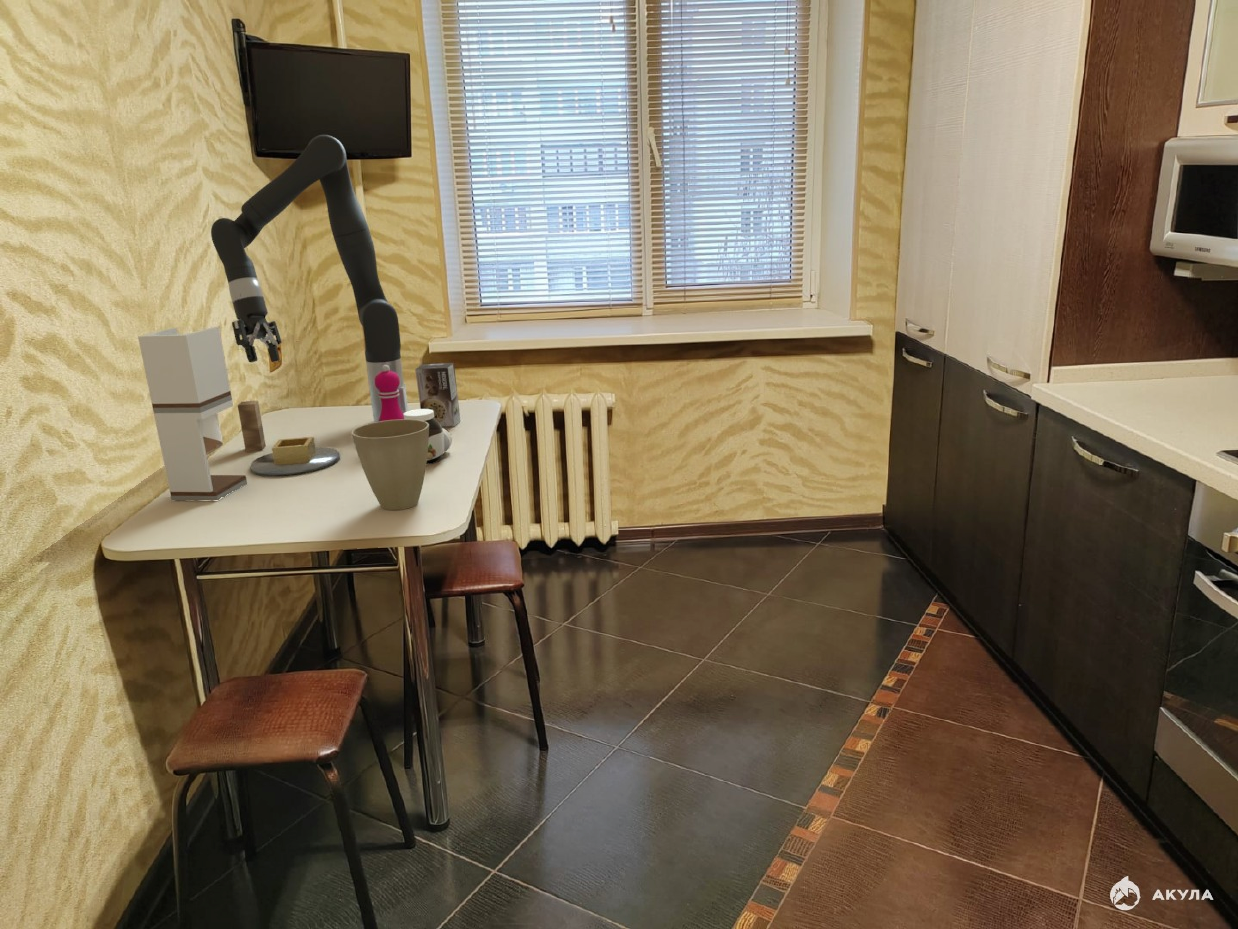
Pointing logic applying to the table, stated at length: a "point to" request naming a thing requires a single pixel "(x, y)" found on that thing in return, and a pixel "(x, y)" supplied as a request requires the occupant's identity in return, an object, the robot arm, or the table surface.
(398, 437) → the plant pot
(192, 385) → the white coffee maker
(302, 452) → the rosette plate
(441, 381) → the coffee box
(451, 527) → the table surface
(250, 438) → the tall tan wooden block
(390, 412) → the pepper mill
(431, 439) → the spread jar
